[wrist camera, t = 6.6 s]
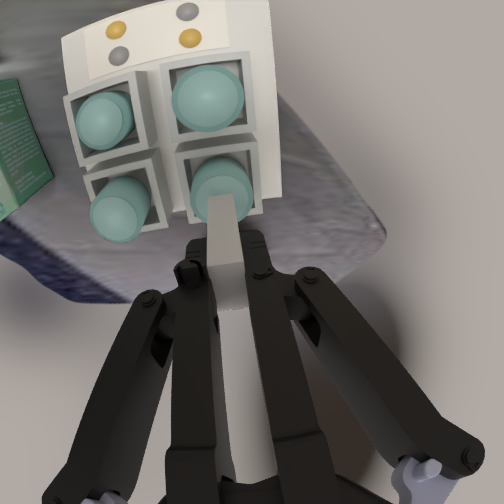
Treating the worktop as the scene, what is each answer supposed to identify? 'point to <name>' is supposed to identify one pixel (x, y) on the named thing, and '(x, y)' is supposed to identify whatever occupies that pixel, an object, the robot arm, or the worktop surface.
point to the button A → (105, 119)
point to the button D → (221, 186)
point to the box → (18, 152)
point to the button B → (120, 209)
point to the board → (160, 95)
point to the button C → (207, 98)
